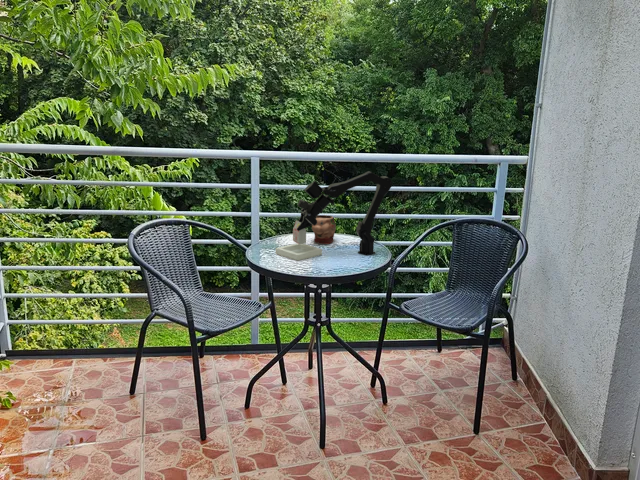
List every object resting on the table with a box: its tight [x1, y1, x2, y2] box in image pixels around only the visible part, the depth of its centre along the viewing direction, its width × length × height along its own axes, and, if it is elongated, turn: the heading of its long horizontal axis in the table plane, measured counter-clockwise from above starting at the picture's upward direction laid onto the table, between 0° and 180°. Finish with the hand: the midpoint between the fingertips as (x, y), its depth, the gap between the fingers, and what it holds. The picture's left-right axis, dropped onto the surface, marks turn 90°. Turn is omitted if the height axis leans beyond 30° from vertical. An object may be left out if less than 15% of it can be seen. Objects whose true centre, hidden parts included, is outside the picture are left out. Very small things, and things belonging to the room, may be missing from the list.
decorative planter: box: [311, 214, 337, 245], centre depth 296 cm, size 20×12×14 cm, turn 164°
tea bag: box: [292, 220, 307, 244], centre depth 269 cm, size 4×7×10 cm, turn 29°
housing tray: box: [275, 243, 323, 262], centre depth 272 cm, size 16×16×3 cm
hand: (296, 228), depth 269 cm, fingers closed on tea bag, 7 cm apart
